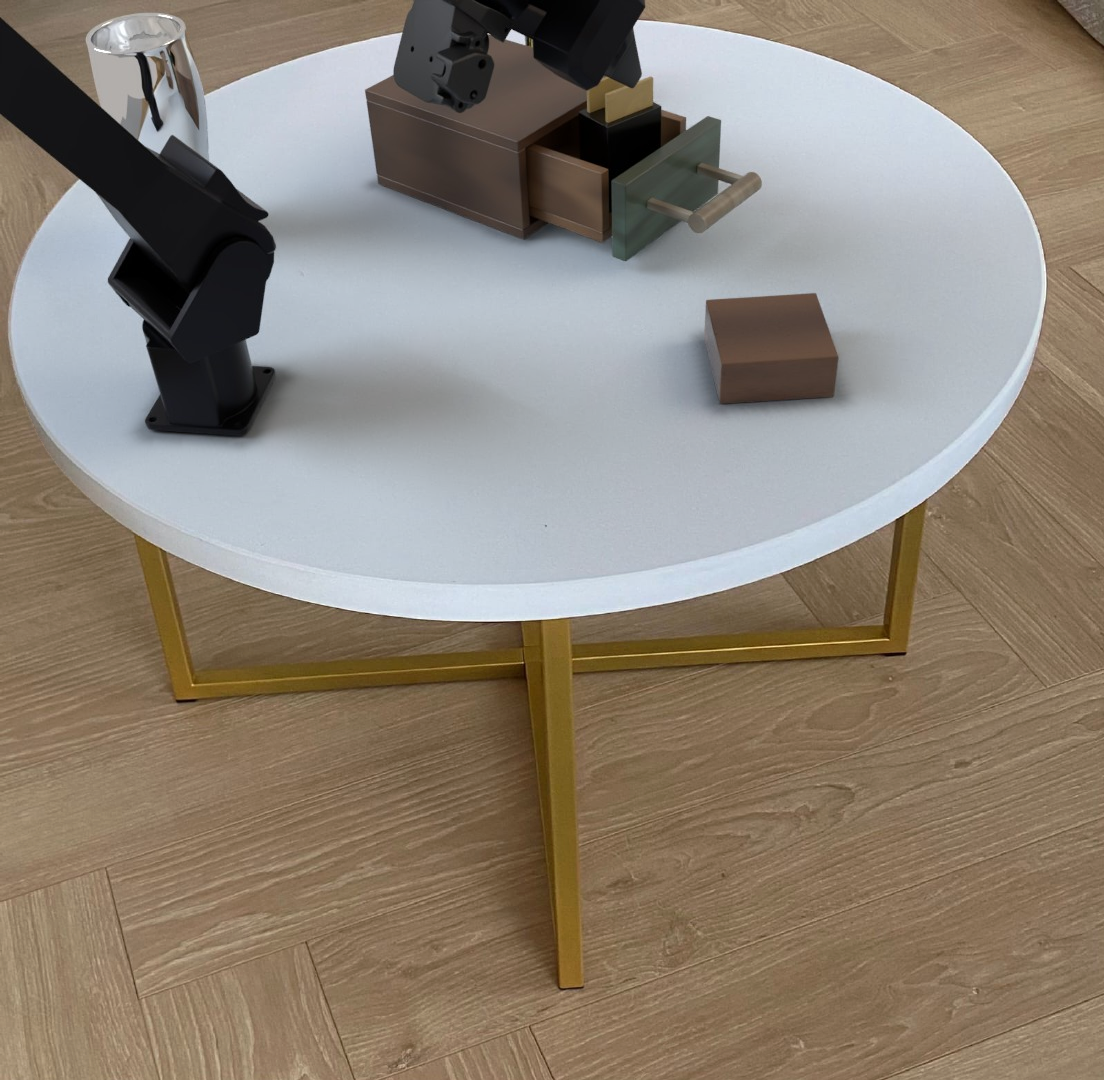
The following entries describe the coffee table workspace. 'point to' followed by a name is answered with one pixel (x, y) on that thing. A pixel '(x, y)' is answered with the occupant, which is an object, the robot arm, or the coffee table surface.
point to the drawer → (635, 186)
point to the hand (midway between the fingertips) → (590, 58)
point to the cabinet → (473, 140)
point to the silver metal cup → (150, 79)
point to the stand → (770, 348)
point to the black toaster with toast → (619, 126)
